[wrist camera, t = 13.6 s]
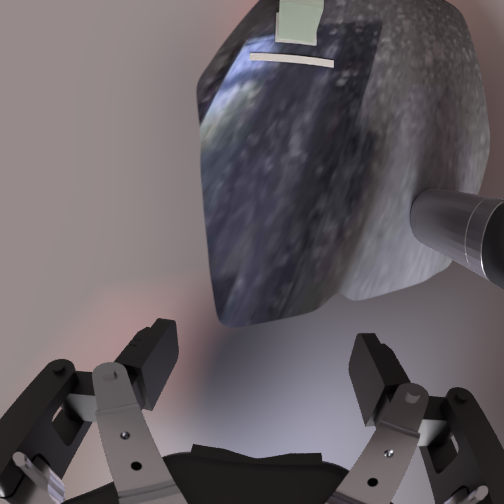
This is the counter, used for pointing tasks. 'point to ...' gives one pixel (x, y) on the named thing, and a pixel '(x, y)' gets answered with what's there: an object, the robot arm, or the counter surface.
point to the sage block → (299, 19)
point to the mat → (290, 40)
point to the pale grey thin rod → (291, 59)
